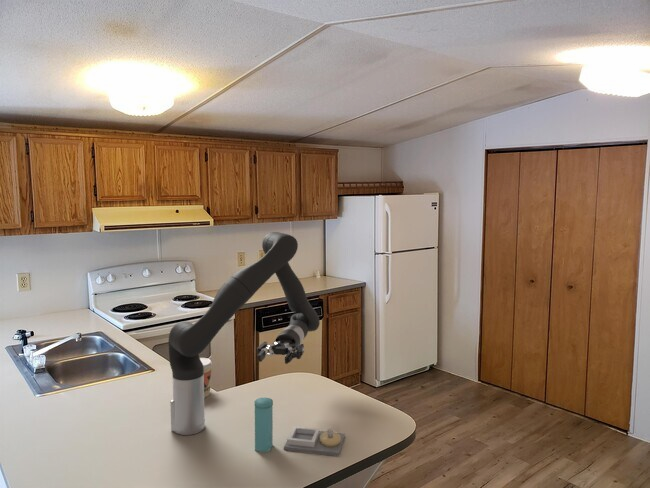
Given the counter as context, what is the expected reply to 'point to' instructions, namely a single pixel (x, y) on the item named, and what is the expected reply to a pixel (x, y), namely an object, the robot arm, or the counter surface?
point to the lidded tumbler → (263, 424)
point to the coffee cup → (206, 375)
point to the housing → (315, 441)
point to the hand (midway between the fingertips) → (272, 359)
